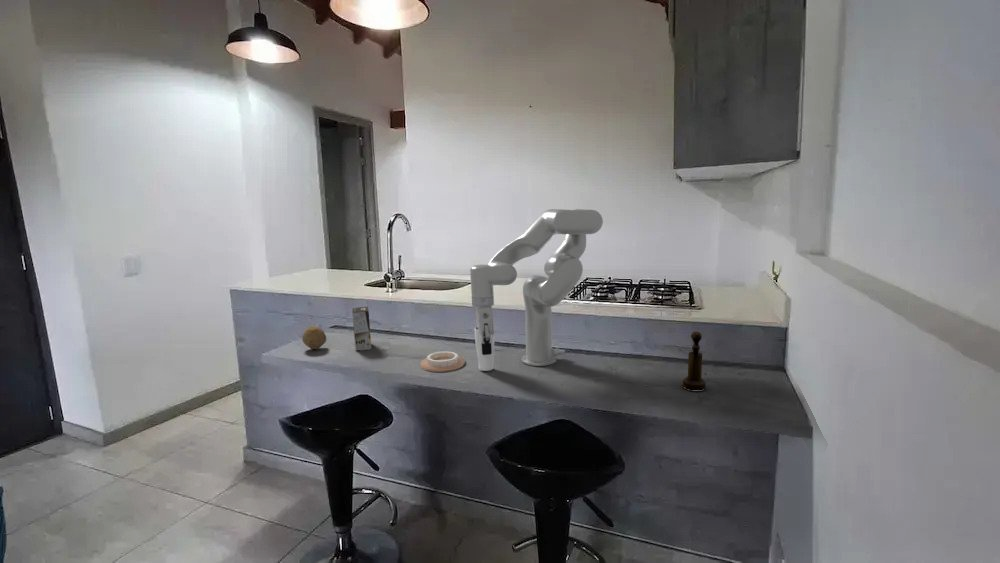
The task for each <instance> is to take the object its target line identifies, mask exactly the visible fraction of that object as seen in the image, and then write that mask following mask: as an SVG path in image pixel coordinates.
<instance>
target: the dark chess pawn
mask: <svg viewBox="0 0 1000 563" xmlns="http://www.w3.org/2000/svg"><path fill="white" fill-rule="evenodd" d="M702 337H703V335H702V333H701V332H699V331H696V330H695V331H692V333H691V335H690V338H691V340H692V343H693V345H691V350H692V351H689V352H688V358H687V359H688V360H687V361H688V362H687V364H688V365H687V376H685V378H683V379H682V388H683V387H685V388H686V389H690V390H703V389H705V390H706V387H707V386H706V381H705V380H704V379H703V378H702V372H703V370H702V368H703V353H702V352H699V351H700V349H701V346H700V344H699V342H700V341H701V340H702ZM686 389H685V390H686Z"/></svg>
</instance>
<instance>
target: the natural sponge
mask: <svg viewBox="0 0 1000 563" xmlns="http://www.w3.org/2000/svg"><path fill="white" fill-rule="evenodd" d="M302 342H303V344H304V345H305V346H306V347H308V348H309V349H311V350H313V349H317V350H319V349H320V348H321V347H322V346H324V344H326V342H327V336H326V333H325V332H324V330H323V329H322V328H321V327H319V326H317V325H311V326H308V327H307V328H305V330H304V331H303V333H302ZM318 348H319V349H318Z"/></svg>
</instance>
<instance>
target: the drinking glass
mask: <svg viewBox="0 0 1000 563" xmlns="http://www.w3.org/2000/svg"><path fill="white" fill-rule="evenodd" d="M483 334H485V332H483ZM484 338H485V336H484ZM490 339H491V350H492V354H489V355H483V354H482V336H481V335H480V333H479V330H478V329H477V326H475V327H474V341H475V342H474V343H475V348H476V356H477V361H478V370H479V371H483V372H490V371H493V369H494V368H495V364H494V363H495V362H494V361H495V360H494V358H495V333H494V334H493V335H492V334H491V333H490Z"/></svg>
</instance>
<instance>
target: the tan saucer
mask: <svg viewBox="0 0 1000 563" xmlns="http://www.w3.org/2000/svg"><path fill="white" fill-rule="evenodd" d="M465 362H466V360H465V358H464V357H462V356H461V355H460V356H459V355H458V353H456V352H453V351H435V352H432V353H430V354H428V355H427V357H426V358H424V359H422V360H421V361H420V368H421V369H422V370H424V371H427V372H432V373H447V372H451V371H455V370H458V369H461V368H462V367H463V366H465V364H466V363H465Z"/></svg>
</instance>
